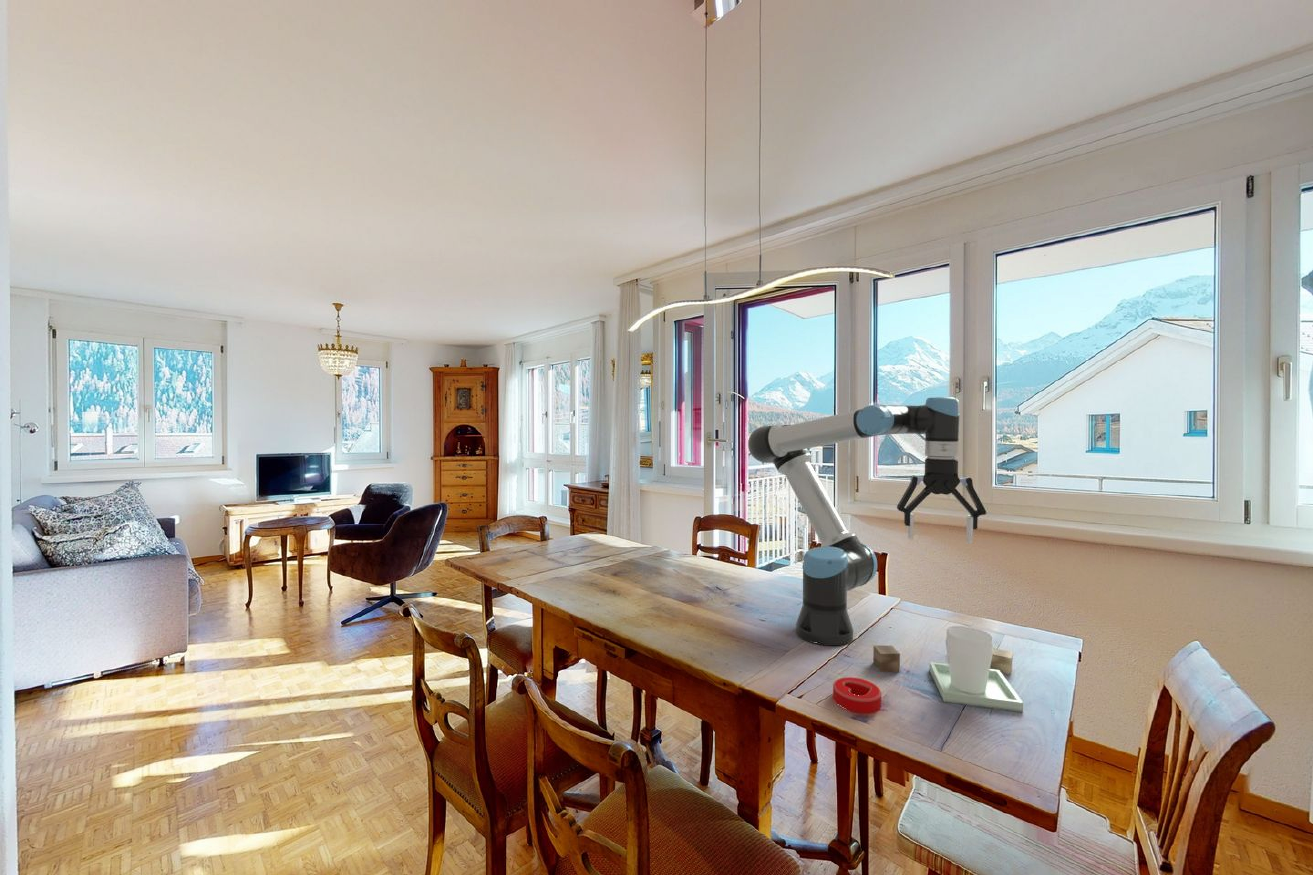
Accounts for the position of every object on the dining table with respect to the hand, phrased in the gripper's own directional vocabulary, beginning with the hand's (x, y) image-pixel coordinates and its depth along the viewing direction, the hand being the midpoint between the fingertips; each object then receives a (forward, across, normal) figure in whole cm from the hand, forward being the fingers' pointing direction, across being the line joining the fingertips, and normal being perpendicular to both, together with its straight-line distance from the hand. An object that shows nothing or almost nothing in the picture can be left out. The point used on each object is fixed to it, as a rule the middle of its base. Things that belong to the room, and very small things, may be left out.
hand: (939, 540), depth 137 cm
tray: (+29, +3, -20) cm, 35 cm away
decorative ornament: (+29, -22, -32) cm, 49 cm away
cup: (+28, +2, -20) cm, 35 cm away
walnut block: (+29, -14, -14) cm, 35 cm away
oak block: (+29, +12, -7) cm, 32 cm away
